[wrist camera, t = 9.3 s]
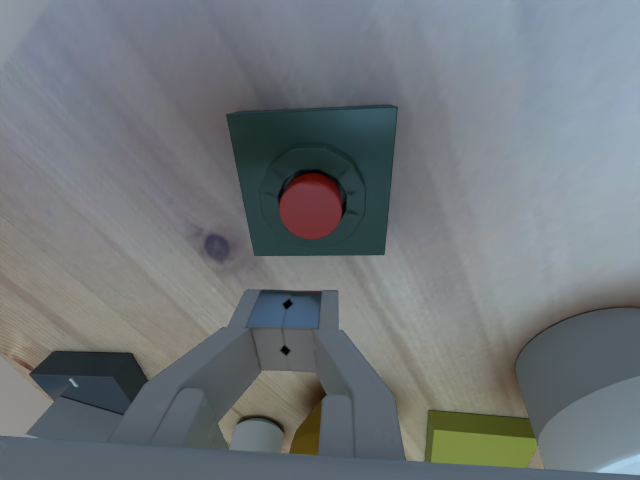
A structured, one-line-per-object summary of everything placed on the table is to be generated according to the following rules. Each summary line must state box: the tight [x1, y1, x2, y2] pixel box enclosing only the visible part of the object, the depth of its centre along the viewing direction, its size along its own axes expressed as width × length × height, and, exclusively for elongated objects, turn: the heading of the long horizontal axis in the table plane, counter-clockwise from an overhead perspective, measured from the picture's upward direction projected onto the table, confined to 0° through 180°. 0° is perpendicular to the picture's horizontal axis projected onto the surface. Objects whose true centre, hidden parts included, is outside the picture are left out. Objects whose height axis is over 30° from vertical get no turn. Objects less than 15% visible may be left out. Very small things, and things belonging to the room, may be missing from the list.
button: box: [279, 173, 342, 239], centre depth 16 cm, size 4×4×2 cm
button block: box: [226, 105, 398, 256], centre depth 18 cm, size 10×10×4 cm
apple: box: [289, 400, 406, 460], centre depth 29 cm, size 13×13×11 cm
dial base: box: [29, 352, 148, 415], centre depth 34 cm, size 14×13×3 cm
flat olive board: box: [425, 410, 538, 468], centre depth 38 cm, size 12×2×24 cm
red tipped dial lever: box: [25, 396, 123, 442], centre depth 31 cm, size 9×2×4 cm, turn 62°
